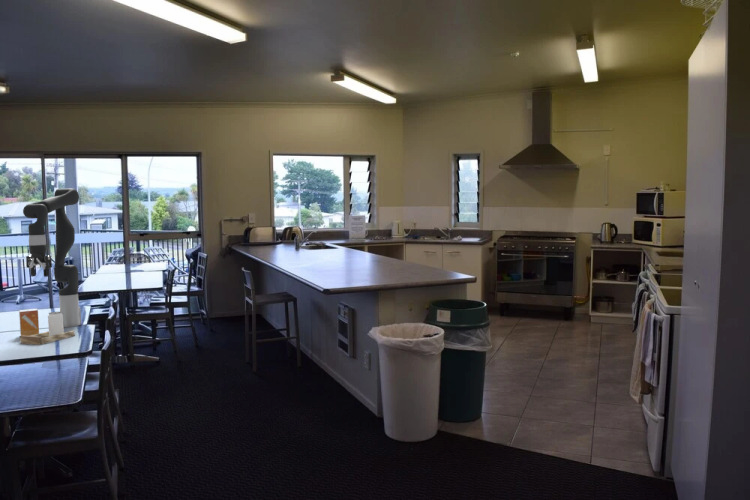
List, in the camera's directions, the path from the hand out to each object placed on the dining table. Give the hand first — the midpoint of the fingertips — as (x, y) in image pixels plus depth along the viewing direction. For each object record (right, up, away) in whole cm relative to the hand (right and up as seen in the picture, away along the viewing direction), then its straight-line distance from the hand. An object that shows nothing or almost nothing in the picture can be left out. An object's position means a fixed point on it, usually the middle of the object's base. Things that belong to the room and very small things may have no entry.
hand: (39, 276), depth 294 cm
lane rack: (+8, -31, -7) cm, 32 cm away
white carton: (+10, -30, -2) cm, 32 cm away
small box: (-7, -30, +4) cm, 31 cm away
